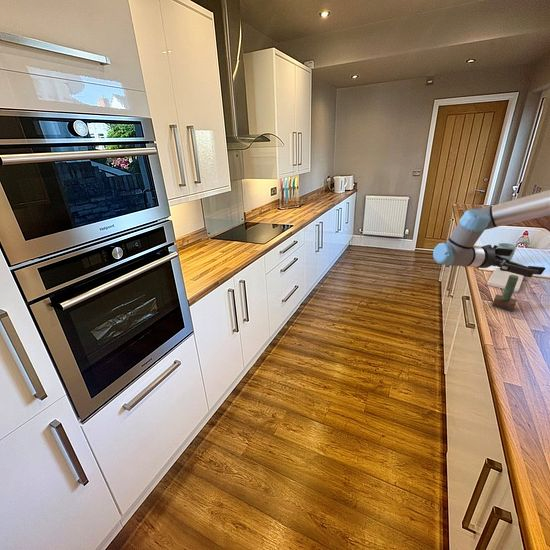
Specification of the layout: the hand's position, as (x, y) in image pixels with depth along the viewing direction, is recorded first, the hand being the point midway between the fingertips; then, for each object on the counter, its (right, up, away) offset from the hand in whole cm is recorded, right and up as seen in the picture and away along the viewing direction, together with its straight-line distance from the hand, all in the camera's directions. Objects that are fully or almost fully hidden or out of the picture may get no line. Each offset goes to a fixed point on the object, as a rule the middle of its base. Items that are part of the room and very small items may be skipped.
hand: (525, 261), depth 106 cm
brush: (+3, -18, +15) cm, 24 cm away
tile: (+21, -7, +35) cm, 42 cm away
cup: (+33, +2, +54) cm, 64 cm away
